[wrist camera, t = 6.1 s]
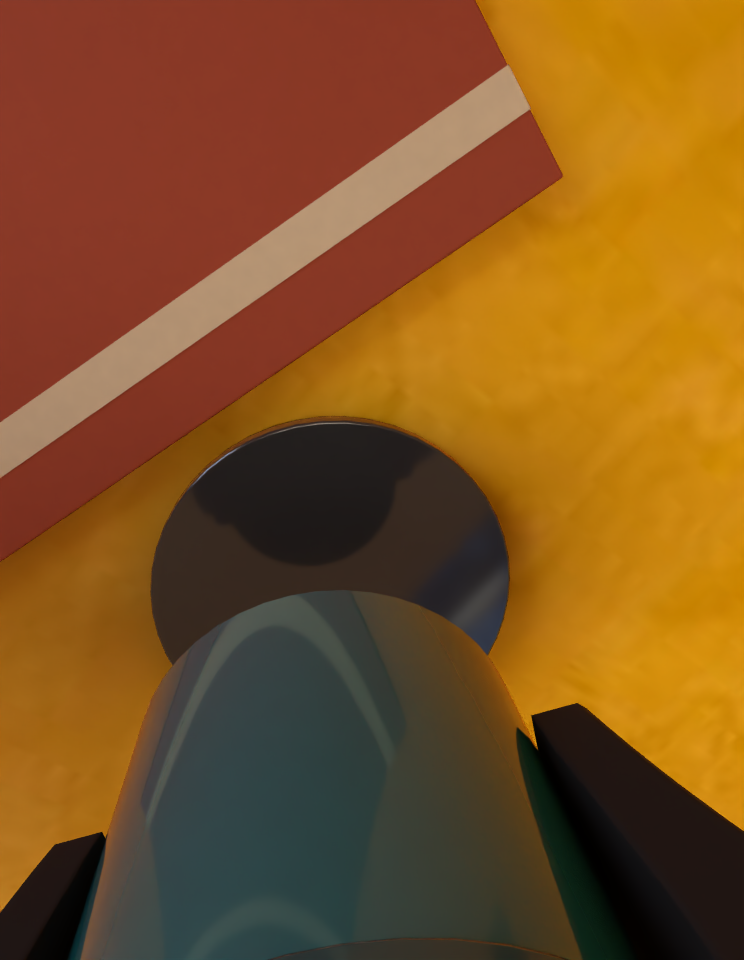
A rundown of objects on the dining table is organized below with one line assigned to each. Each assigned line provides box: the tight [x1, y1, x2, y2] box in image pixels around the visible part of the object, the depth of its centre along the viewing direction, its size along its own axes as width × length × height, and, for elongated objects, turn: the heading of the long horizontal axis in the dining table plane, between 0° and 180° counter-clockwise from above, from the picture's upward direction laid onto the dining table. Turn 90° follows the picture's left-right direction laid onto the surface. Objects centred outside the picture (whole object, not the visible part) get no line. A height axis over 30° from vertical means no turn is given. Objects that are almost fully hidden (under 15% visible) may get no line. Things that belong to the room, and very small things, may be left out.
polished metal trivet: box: [150, 416, 510, 666], centre depth 17 cm, size 8×8×1 cm
